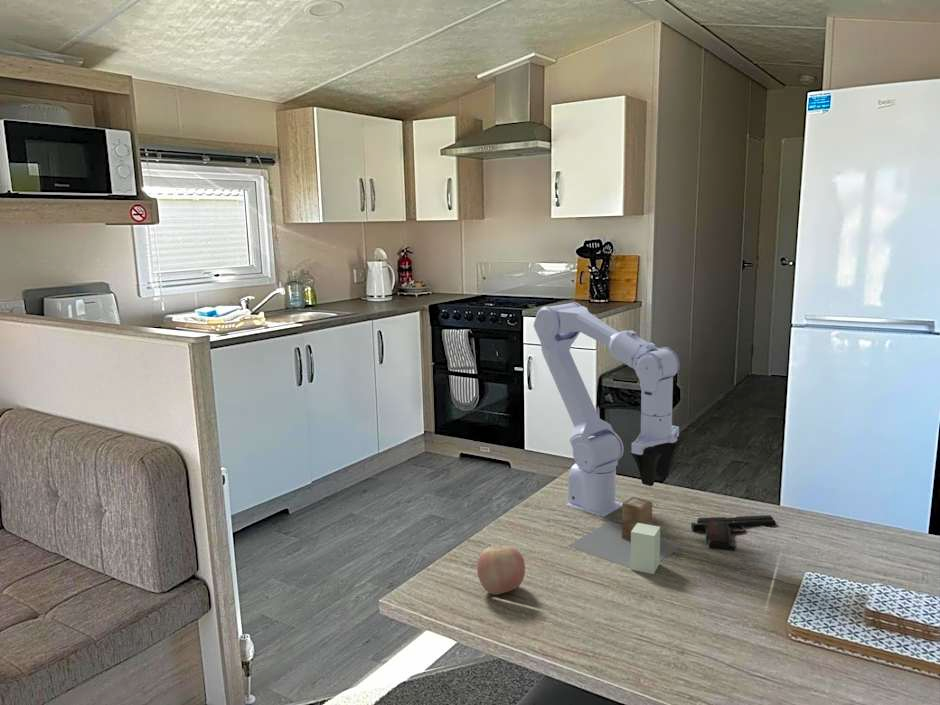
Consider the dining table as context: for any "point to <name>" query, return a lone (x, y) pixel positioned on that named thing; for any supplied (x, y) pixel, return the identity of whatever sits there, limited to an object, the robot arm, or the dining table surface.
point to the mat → (616, 544)
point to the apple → (500, 569)
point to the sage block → (645, 548)
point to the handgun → (728, 528)
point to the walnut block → (635, 515)
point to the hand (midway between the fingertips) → (655, 480)
